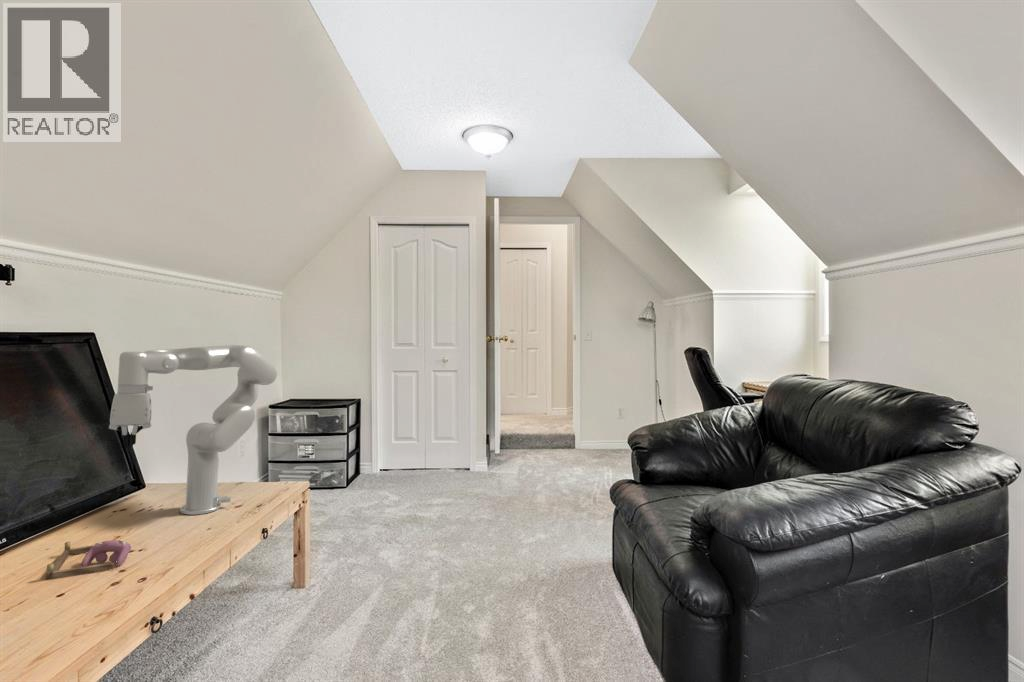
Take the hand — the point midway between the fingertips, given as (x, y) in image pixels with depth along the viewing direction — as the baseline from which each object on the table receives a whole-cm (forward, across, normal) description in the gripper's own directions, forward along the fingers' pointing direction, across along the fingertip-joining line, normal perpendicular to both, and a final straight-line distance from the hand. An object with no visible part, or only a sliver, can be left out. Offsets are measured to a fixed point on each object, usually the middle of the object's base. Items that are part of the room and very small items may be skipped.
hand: (129, 446), depth 153 cm
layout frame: (+27, +4, +22) cm, 35 cm away
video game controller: (+27, 0, +25) cm, 37 cm away
